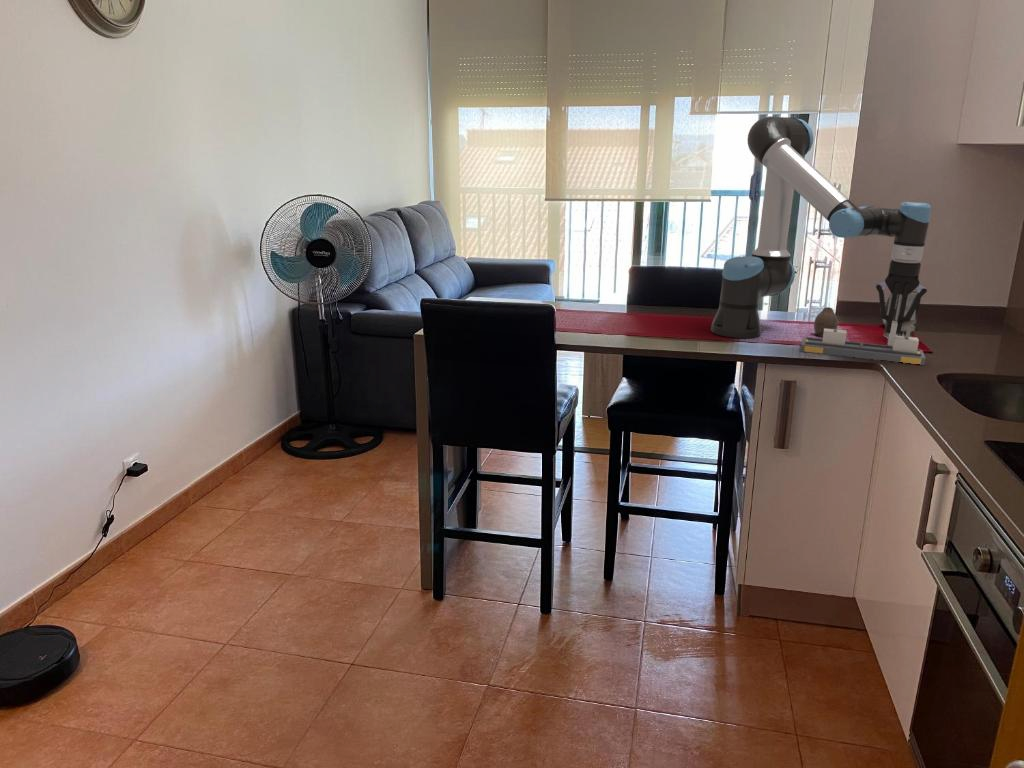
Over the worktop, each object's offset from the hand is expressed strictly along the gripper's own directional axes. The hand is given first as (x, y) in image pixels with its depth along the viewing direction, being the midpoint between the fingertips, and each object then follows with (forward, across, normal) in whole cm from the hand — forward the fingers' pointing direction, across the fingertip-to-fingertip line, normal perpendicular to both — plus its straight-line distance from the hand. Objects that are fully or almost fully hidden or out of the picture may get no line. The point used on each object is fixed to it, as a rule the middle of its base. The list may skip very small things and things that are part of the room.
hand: (890, 344), depth 212 cm
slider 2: (+2, +4, 0) cm, 4 cm away
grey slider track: (+4, -7, 0) cm, 8 cm away
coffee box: (+4, +4, +23) cm, 24 cm away
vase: (+4, -17, +20) cm, 27 cm away
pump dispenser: (+4, +5, +43) cm, 44 cm away
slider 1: (+2, -15, 0) cm, 15 cm away
